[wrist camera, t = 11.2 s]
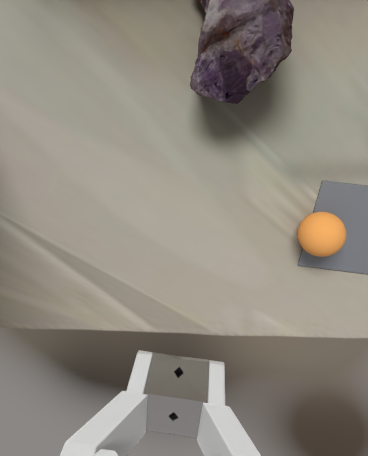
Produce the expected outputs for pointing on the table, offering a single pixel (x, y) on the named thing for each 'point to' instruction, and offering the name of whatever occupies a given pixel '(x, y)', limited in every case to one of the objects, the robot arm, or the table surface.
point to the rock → (240, 46)
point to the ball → (321, 234)
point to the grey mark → (354, 224)
